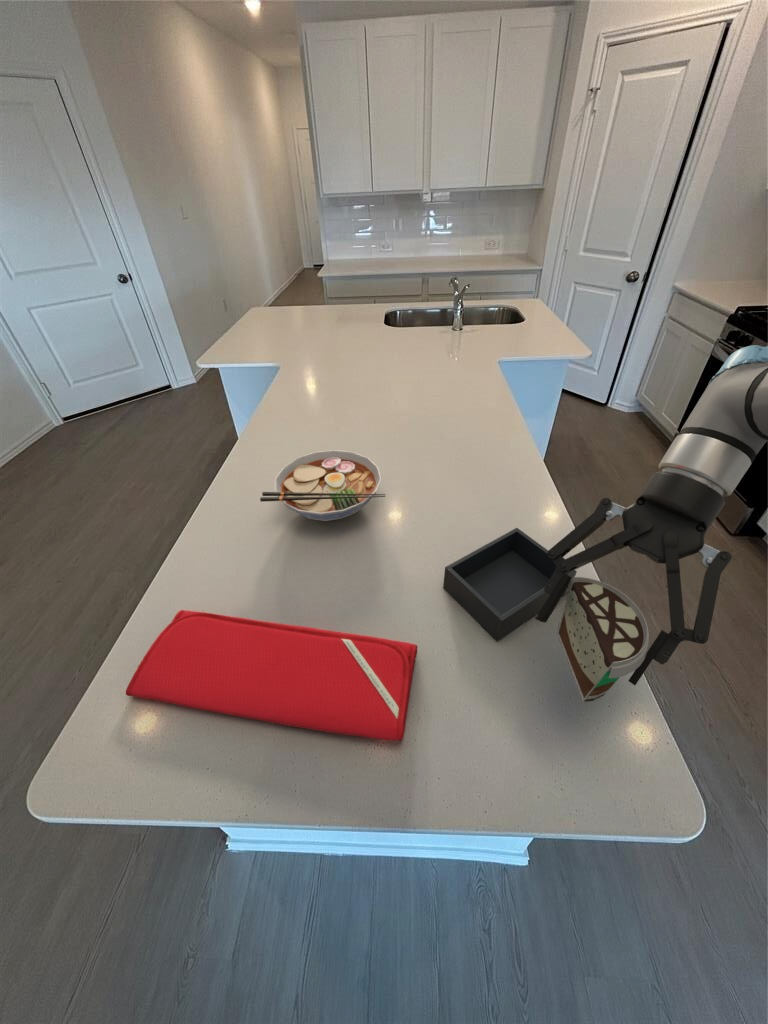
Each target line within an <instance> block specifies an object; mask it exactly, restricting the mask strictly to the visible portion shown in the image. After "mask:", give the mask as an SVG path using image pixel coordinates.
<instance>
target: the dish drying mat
mask: <svg viewBox="0 0 768 1024" xmlns="http://www.w3.org/2000/svg"><path fill="white" fill-rule="evenodd" d="M417 655H418V644H414V643H410V642H407V641H399V640H394V639H387V638H381V637H376V636H370V635H363V634H362V635H361V634H356V633H348V632H342V631H333V630H327V629H321V628H315V627H309V626H301V625H293V624H285V623H278V622H272V621H271V622H270V621H264V620H257V619H252V618H245V617H238V616H230V615H224V614H217V613H212V612H211V613H210V612H204V611H203V612H202V611H193V610H184V609H181V610H179V611H178V612H177V613H176V614H175V615H174V618H173V619H172V620H171V622H170V623H169V624H167V626H166V627H165V628H164V629H163V630H162V631H161V632H160V633H159V634H158V636H157V638H156V639H155V640H154V641H153V643H152V644H151V646H150V647H149V649H148V650H147V652H146V653H145V654H144V656H143V658H142V660H141V661H140V663H139V665H138V666H137V668H136V670H135V672H134V674H133V675H132V677H131V679H130V681H129V683H128V685H127V687H126V689H125V696H127V697H134V698H137V699H145V700H150V701H151V700H152V701H158V702H164V703H167V704H172V705H177V706H181V707H185V708H192V709H196V710H201V711H207V712H212V713H217V714H224V715H229V716H235V717H240V718H245V719H251V720H257V721H263V722H269V723H274V724H278V725H282V726H287V727H288V726H289V727H296V728H301V729H306V730H307V729H308V730H313V731H319V732H326V733H333V734H338V735H346V736H355V737H359V738H360V737H361V738H368V739H373V740H383V741H398V742H402V741H403V740H404V735H405V731H406V724H407V723H406V722H407V717H408V710H409V704H410V695H411V688H412V682H413V675H414V669H415V662H416V658H417Z"/></svg>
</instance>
